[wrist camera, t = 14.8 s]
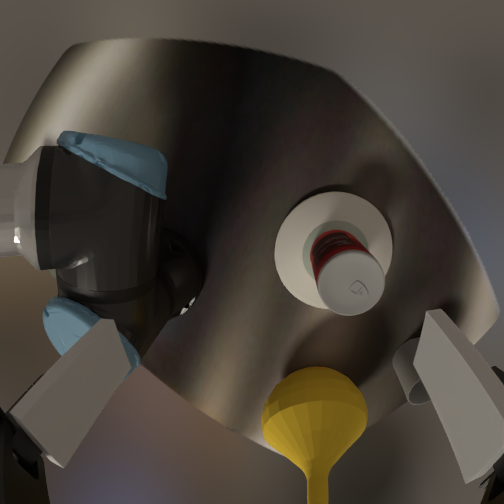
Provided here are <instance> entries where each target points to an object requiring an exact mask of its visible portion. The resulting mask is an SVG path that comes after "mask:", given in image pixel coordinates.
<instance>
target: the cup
mask: <svg viewBox="0 0 504 504" xmlns="http://www.w3.org/2000/svg"><path fill="white" fill-rule="evenodd" d="M419 340H420V338H419V337H418V338H414V339H410V340H408V341H407V342H405V343H404V344H402V345H401V346H400V347H399V348H398V349H397V351H396V352H395V354H394V357H393V359H392V361H393V367H394V369H395V371H396V373H397V376H398V378H399V380H400V383H401V385H402V387H403V390H404V392H405V394H406V397H407V399H408V401H409V402H410V403H412V404H417V405H420V404H423V403H426V402H429V401H431V399H430V397H429V394H428V392H427V390H426V388H425V386H424V384H423V382H422V380H421V378H420V376H419V375H418V373H417V371H416V369H415V367H414V365H413V362H414V358H415V355H416V351H417V348H418V344H419Z"/></svg>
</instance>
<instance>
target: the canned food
mask: <svg viewBox="0 0 504 504" xmlns="http://www.w3.org/2000/svg"><path fill="white" fill-rule="evenodd" d="M310 261H311V265H312V269H313V273H314V277H315V281H316V285H317V290H318V293H319V295H320V298H321V300H322V301H323V303H324V304H325V305H326V307H328V308H329V309H330V310H331V311H333V312H335V313H337V314H340V315H346V316H352V315H358V314H361V313H364V312H366V311H368V310H369V309H371V308H372V307H373V306H374V305H375V304H376V303H377V302H378V301H379V299H380V298H381V296H382V294H383V291H384V287H385V275H384V272H383V269H382V267H381V265H380V264H379V262H378V261H377V260H376V258H375V257H374V256H373V255H372V254H371V253H370V252H369V251H368V250H367V249H366V248H365V247H364V246H363V245H362V244H361V243H360V242H359V241H358V240H357V239H356V237H355V236H353V235H352V234H350V233H349V232H346V231H343V230H331V231H327V232H325V233H323V234H322V235H320V236H319V237H318V238H317V239H316V240H315V242H314V243H313V245H312V248H311V251H310Z"/></svg>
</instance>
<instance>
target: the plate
mask: <svg viewBox="0 0 504 504" xmlns="http://www.w3.org/2000/svg"><path fill="white" fill-rule="evenodd" d="M331 230H343V231H346V232H349V233H350V234H352V235H353V236H355V237H356V239H357V240H358V241H359V242H360V243H361V244H362V245H363V246H364V247H365V248H366V249H367V250H368V251H369V252H370V253H371V254H372V255H373V256H374V257H375V258H376V260H377V261H378V262H379V264H380V265H381V267H382V269H383V272H384V275H386V273H387V271H388V269H389V266H390V262H391V258H392V237H391V233H390V229H389V227H388V225H387V222H386V220H385V219H384V217H383V216H382V214H381V213H380V212H379V211H378V209H377V208H375V207H374V206H373V205H372V204H371V203H369V202H368V201H367V200H365V199H363V198H361V197H359V196H356V195H353V194H350V193H346V192H337V191H332V192H324V193H320V194H317V195H314V196H311V197H309V198H307V199H306V200H304V201H302V202H301V203H300V204H298V205H297V206H296V207H295V208H294V209H293V210H292V211H291V212H290V213H289V214H288V215H287V217H286V218H285V220H284V221H283V223H282V225H281V227H280V229H279V231H278V235H277V238H276V244H275V263H276V268H277V271H278V274H279V276H280V279H281V280H282V282H283V284H284V285H285V287H286V288H287V289H288V290H289V292H290V293H292V294H293V295H294V296H295V297H296V298H298V299H299V300H300V301H302V302H304V303H306V304H308V305H311V306H314V307H318V308H324V309H329V308H328V307H326V305H325V304H324V303H323V301H322V300H321V298H320V295H319V293H318V290H317V285H316V281H315V277H314V273H313V269H312V265H311V261H310V251H311V248H312V245H313V243H314V242H315V240H316V239H317V238H318V237H319V236H320V235H322V234H323V233H325V232H327V231H331Z"/></svg>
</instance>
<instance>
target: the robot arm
mask: <svg viewBox="0 0 504 504" xmlns="http://www.w3.org/2000/svg"><path fill="white" fill-rule="evenodd" d="M57 144H58V146H40V147H39V148H38V149H37V150H36V151H35V152H34V153H33V154H32V155H31V156H30V157H29V158H28V159H27V160H26V161H24V162H23V163H11V164H0V257H3V256H16V255H22V256H23V257H25V258H26V259H27V260H28V261H29V262H30V263H31V264H32V265H33V266H34V267H35V268H36V269H37V270H48V269H56V278H57V287H58V295H57V297H53V298H52V299H50V300H49V302H48V304H47V306H46V307H45V309H44V311H43V323H44V327H45V330H46V333H47V335H48V337H49V339H50V341H51V342H52V344H53V345H54V347H55V348H56V350H57V351H58V352H59V353H60V355H61V356H62V357H61V358H60V359H59V360H58V361H57V362H56V363H55V364H54V365H53V366H52V367H51V368H50V369H49V370H48V371H47V372H46V373H44V374H43V375H41V376H40V377H39V378H38V379H37V380H36V381H35V382H34V383H33V385H31V386H30V387H29V388H28V391H26V392H25V393H24V394H23V395H22V396H21V397H20V398H19V399H18V400H17V402H15V404H14V405H13V406H12V407H11V408H10V409H9V410H8V411H7V412H6V413H4V412H3V410H2V409H1V408H0V504H50V501H49V496H48V490H47V484H46V477H45V468H44V461H43V458H42V457H41V456H40V455H41V453H42V452H43V453H44V454H45V455H46V457H47V458H48V459H49V460H50V461H52V462H53V463H55V464H57V465H59V466H60V467H62V468H65V466H66V465H67V463H68V461H69V460H70V458H71V457H72V455H73V454H74V452H75V451H76V449H77V447H78V446H79V444H80V443H81V441H82V440H83V438H84V437H85V435H86V434H87V432H88V431H89V429H90V427H91V426H92V424H93V423H94V421H95V420H96V418H97V417H98V415H99V414H100V412H101V411H102V409H103V408H104V407H105V405H106V404H107V402H108V401H109V399H110V398H111V396H112V395H113V393H114V392H115V390H116V389H117V387H118V386H119V385H120V383H121V382H122V381H123V380H125V379H126V378H127V377H128V376H129V375H130V374H131V373H132V372H133V371H134V369H135V368H137V367H138V366H139V364H140V361H141V359H142V358H143V356H144V355H145V353H146V352H147V350H148V349H149V347H150V346H151V345H152V343H153V342H154V340H155V339H156V337H157V336H158V334H159V333H160V331H161V330H162V328H163V327H164V326H165V324H166V323H167V321H168V320H170V319H173V318H175V317H177V316H179V315H181V314H183V313H184V312H186V311H187V310H188V309H189V308H190V307H191V306H192V305H193V304H194V302H195V301H196V299H197V298H198V296H199V294H200V292H201V289H202V285H203V270H202V266H201V263H200V260H199V258H198V256H197V254H196V252H195V250H194V249H193V248H192V246H191V245H190V244H189V243H188V242H187V241H186V240H185V239H184V238H183V237H181V236H180V235H178V234H176V233H175V232H173V231H170V230H167V229H163V228H161V225H162V217H163V209H164V202H165V200H166V199H167V195H166V194H165V190H166V179H167V170H168V164H167V160H166V158H165V156H164V155H163V154H162V153H161V152H160V151H158V150H157V149H154V148H151V147H148V146H144V145H141V144H137V143H133V142H129V141H125V140H120V139H116V138H111V137H106V136H100V135H94V134H87V133H80V132H75V131H63V132H62V133H61V134H60V136H59V138H58V139H57ZM413 365H414V367H415V369H416V371H417V373H418V375H419V376H420V378H421V380H422V382H423V384H424V386H425V388H426V390H427V392H428V394H429V397H430V399H431V400H432V403H433V405H434V407H435V409H436V411H437V413H438V416H439V418H440V420H441V422H442V425H443V427H444V429H445V431H446V434H447V436H448V439H449V441H450V443H451V446H452V448H453V451H454V453H455V456H456V458H457V461H458V463H459V466H460V469H461V472H462V474H463V478H464V480H465V483H468V482H471V481H473V480H474V479H476V478H478V477H480V476H482V475H484V474H485V473H486V472H487V471H488V470H489V469H490V468H491V467H492V466H493V468H494V470H495V471H494V472H493V473H492V474H490V475H489V476H488V477H487V478H486V479H485V480H484V481H483V482H482V483H481V485H480V486H479V488H482V487H483V486H484V485H485V484H486V483H488V485H487V486H486V487H485V489H486V491H485V493H484V496H483V499H482V501H481V504H504V372H503V371H502V370H500V369H499V368H497V367H496V366H493V367H490V366H489V365H488V363H487V362H486V361H485V360H484V358H483V357H482V356H481V354H480V353H479V352H478V351H477V349H476V348H475V347H474V346H473V345H472V343H471V342H470V341H469V340H468V339H467V337H466V336H465V335H464V334H463V333H462V331H461V330H460V329H459V328H458V327H457V326H456V325H455V323H454V322H453V321H452V320H451V319H450V318H449V317H448V316H447V315H446V313H445V312H444V311H443V310H442V309H436V310H429V311H426V315H425V320H424V324H423V328H422V333H421V337H420V340H419V344H418V348H417V351H416V355H415V358H414V362H413Z"/></svg>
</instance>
